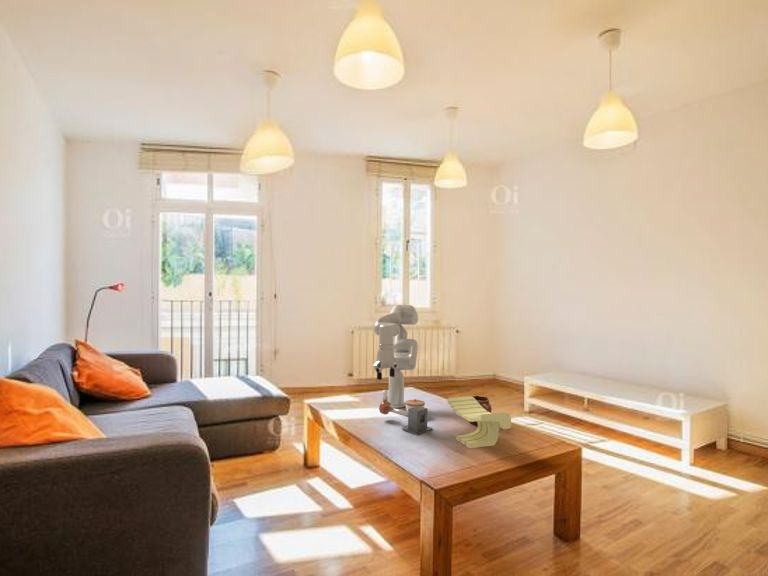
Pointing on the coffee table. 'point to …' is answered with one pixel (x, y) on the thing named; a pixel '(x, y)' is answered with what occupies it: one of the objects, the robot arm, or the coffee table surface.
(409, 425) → the grey square peg socket
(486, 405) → the decorative planter
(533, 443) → the coffee table surface
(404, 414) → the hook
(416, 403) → the lidded jar
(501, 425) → the slatted curved stool
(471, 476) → the coffee table surface
